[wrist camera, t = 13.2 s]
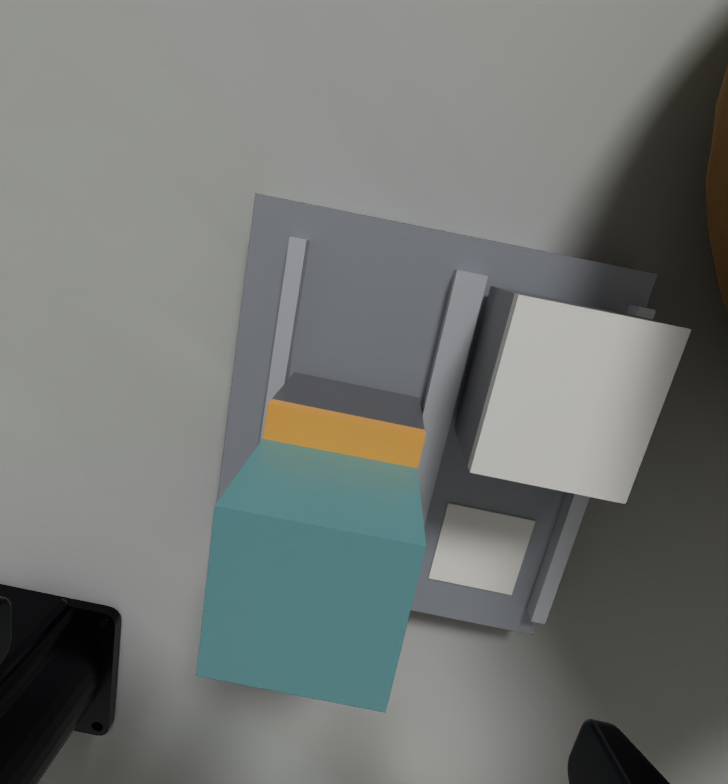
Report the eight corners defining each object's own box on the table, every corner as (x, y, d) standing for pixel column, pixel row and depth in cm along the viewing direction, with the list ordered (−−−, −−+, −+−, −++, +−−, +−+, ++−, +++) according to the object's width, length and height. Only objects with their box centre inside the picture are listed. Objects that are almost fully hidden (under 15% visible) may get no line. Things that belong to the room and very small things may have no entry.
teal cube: (387, 599, 14) (385, 712, 10) (245, 572, 14) (196, 675, 10) (417, 468, 13) (426, 546, 9) (262, 438, 13) (214, 505, 9)
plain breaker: (577, 452, 16) (625, 504, 13) (454, 427, 16) (469, 472, 13) (624, 312, 15) (691, 329, 11) (490, 286, 15) (518, 294, 11)
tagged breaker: (389, 522, 17) (388, 587, 14) (274, 499, 17) (245, 557, 14) (419, 397, 16) (426, 435, 12) (294, 372, 16) (268, 402, 12)
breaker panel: (522, 606, 19) (537, 647, 17) (222, 545, 20) (202, 579, 18) (634, 272, 16) (668, 275, 14) (268, 198, 16) (249, 190, 14)
